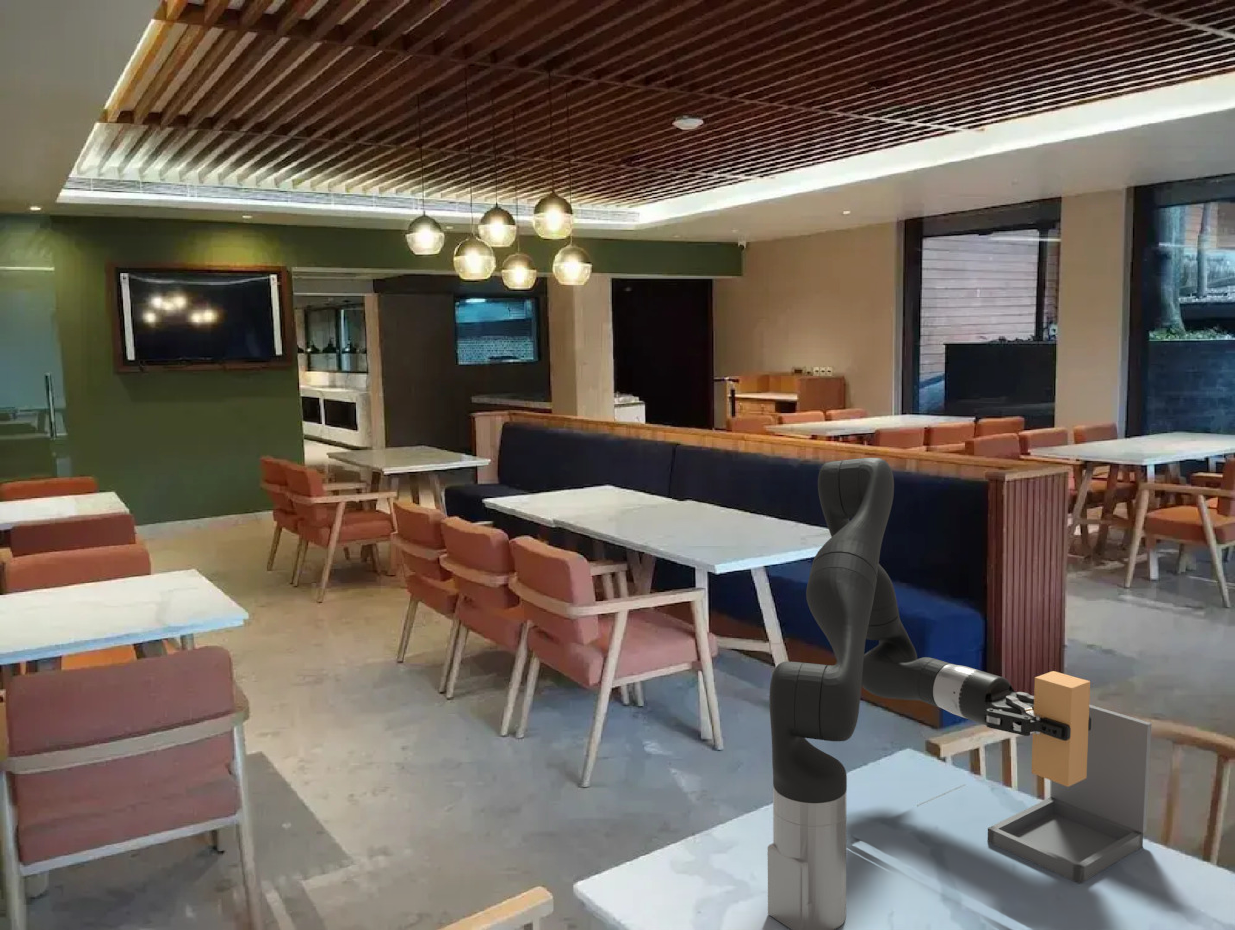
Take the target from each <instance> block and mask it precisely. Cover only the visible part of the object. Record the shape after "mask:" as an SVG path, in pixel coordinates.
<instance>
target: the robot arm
mask: <svg viewBox="0 0 1235 930" xmlns="http://www.w3.org/2000/svg"><path fill="white" fill-rule="evenodd" d="M817 489H818V496H819V503H820V506H821V509H822V514H823V516H824V520H825V522H826V525H827V528H828V530H829V534H830V536H831V538H829V539H828V540H827V541H826V542H825V543H824V544H823V545H822V546H821V547H820V549H819V550H818V551H817V553H816V554H815V556H814V558H813V561H812V564H811V568H810V572H809V576H808V581H807V586H806V591H805V595H806V596H805V597H806V602H807V605H808V607H809V610H810V612H811V615H812V617H813V618H814V620H815V621H816V623H817V625H818V626H819V628H820V629H821V631H822V632H823V634H824V635H825V637H826V638H827V641H828V642H829V644H830V646H831V648H832V650H833V651H832V652H833V653H834V656H835V658H836V663H835V664H834V665H833V664H832V665H830V664H829V665H828V664H819V663H809V662H808V663H807V662H798V661H782V662H780V663H778V664H777V666H775V668H774V670H773V672H772V675H771V679H770V685H769V700H768V701H769V718H770V733H771V749H772V750H771V751H772V752H771V755H772V756H771V757H772V758H771V759H772V760H771V761H772V762H771V763H772V764H771V765H772V785H773V786H772V787H773V788H772V799H773V801H772V808H773V809H772V815H773V816H772V819H773V820H772V821H773V822H772V823H773V824H772V827H773V828H772V829H773V830H772V831H773V834H772V836H773V837H772V838H773V839H772V841H773V842H772V843H770V844H768V846H767V914H768V915H769V916H771V917H772V918H773V919H775V920H777V921H778V922H779V923H781V924H783V926H786V927H787V928H789V929H790V930H836V929H838V928H840V927H841V926H842V925H843V924H844V922H845V921H846V917H847V799H848V798H847V790H848V789H847V788H848V787H847V786H848V785H847V782H848V781H847V780H848V777H847V776H848V775H847V772H846V768H845V766H844V765H843V764H842V762H840V760H838V759H837V758H835V757H834V756H832V755H830V754H828V753H826V752H825V751H822V750H821V749H819V748H818V747H816V746H814V745H813V744H812V743H811V742H809V741H808V740H807V739H812V740H819V741H825V742H845V741H847V740H849V739H850V738H852V736H853V734H854V732H855V731H856V728H857V724H858V718H859V713H860V704H861V695H862V688H863V689H864V690H866V691H867V692H868V693H870V694H872V695H874V696H877V697H879V698H884V699H885V698H886V699H892V700H893V699H894V700H906V701H921V702H922V703H926V704H928V705H931V706H934V707H937V708H940V709H943V710H945V711H947V712H948V713H950V714H953V715H956V716H957V717H961V718H963V719H967V720H969V721H972V722H974V723H978V724H981V725H984V726H986V728H988V729H994V730H996V731H997V730H999V731H1002V732H1006V733H1011V734H1014V735H1021V736H1024V737H1029V736H1031V733H1032V734H1033V733H1034V734H1042V733H1043V734H1046V735H1049V736H1052V737H1055V738H1058V739H1061V740H1064V741H1066V740H1069V739H1070V733H1071V728H1070V726H1069V725H1068V724H1065V723H1062V722H1059V721H1056V720H1053V719H1050V718H1047V717H1044V718H1043V716H1041V715H1039V714H1037V713H1034V695H1031V694H1029V693H1028V692H1023V691H1017V692H1016V691H1015V690H1014V688H1013V687H1012V684H1011V683H1010V681H1009V680H1008V679H1007V678H1005V677H1003V676H999V675H996V674H992V673H989V672H986V671H983V670H979V669H975V668H972V667H969V666H965V665H958V664H954V663H950V662H948V661H947V662H946V661H944V660H941V659H940V660H939V659H937V658H932V657H927V656H926V657H925V656H924V657H921V658H918V654H917V652H916V649H915V646H914V645H913V643H912V641H911V639H910V637H909V634H908V632H907V631H906V629H905V627H904V625H903V623H902V621H901V617H900V613H899V606H898V602H897V596H896V595H897V594H896V591H895V588H894V585H893V584H894V583H893V582H892V579H891V578H890V576H889V574H888V573H887V571H886V570H885V569H884V568H883V567H882V566H881V564H880V563H879V562H880V557H881V556H880V555H881V549H882V543H883V539H884V534H885V531H886V529H887V528H886V527H887V525H888V521H889V517H890V514H891V510H892V506H893V500H894V495H895V494H894V492H895V480H894V473H893V471H892V468H891V466H890V464H889V463H888V462H887V461H886V460H885V459H882V458H880V457H864V458H863V457H862V458H855V459H854V458H853V459H846V460H845V459H844V460H836V461H831V462H830V461H829V462H825V463H824V464H823V465H822V466H821V468H820V469H819V472H818V475H817ZM850 519H851V520H850ZM866 640H869V641H878V645H876V646H875V647H873V648H872V649H870V650H868V651H867V652H866V653H865V648H866ZM1042 718H1043V719H1042ZM1090 730H1091V717H1090V716H1089V721H1088V731H1090Z"/></svg>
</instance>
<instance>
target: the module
mask: <svg viewBox="0 0 1235 930" xmlns="http://www.w3.org/2000/svg"><path fill="white" fill-rule="evenodd" d="M1033 688H1034V690H1033V691H1034V692H1033V694H1034V695H1033V696H1034V713H1037V714H1039V715H1041V716H1043V718H1044V717H1047V718H1050V719H1053V720H1056V721H1059V722H1062V723H1065V724H1068V725H1069V726H1070V728H1071V733H1070V739H1069V740H1066V741H1064V740H1061V739H1058V738H1055V737H1052V736H1049V735H1046V734H1043V733H1042V734H1034V733H1032V751H1031V774H1033V775H1035V776H1039V777H1041V778H1044V779H1045V780H1049V781H1051V782H1052V781H1054V782H1057V783H1059V784H1062V785H1065V786H1067V787H1069V786H1071V785H1073V784H1075V783H1077V782H1079V781H1081V780H1084V779H1086V775H1087V751H1088V721H1089V705H1090V698H1091V680H1087V679H1083V678H1079V677H1077V676H1076V677H1075V676H1072V675H1069V674H1066V673H1061V672H1059V671H1055V670H1053V671H1049V672H1046V673H1044V674H1040V675H1038V676H1035V677H1034V687H1033ZM1043 718H1042V719H1043Z"/></svg>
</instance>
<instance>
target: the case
mask: <svg viewBox="0 0 1235 930" xmlns="http://www.w3.org/2000/svg"><path fill="white" fill-rule="evenodd" d="M1089 716H1090V717H1091V730H1090V731H1088V751H1087V775H1086V779H1084V780H1081V781H1079V782H1077V783H1075V784H1073V785H1071V786H1069V787H1067V786H1065V785H1062V784H1059V783H1057V782H1054V781H1051V794H1050V795H1051V796H1050V797H1048V798H1046V799H1044V800H1042V801H1040V802H1039V803H1036V804H1034V805H1033V806H1032V805H1031V806H1030V807H1028V808H1025V809H1024V810H1022V811H1020V812H1018V813H1016V814H1014V815H1012V816H1009V817H1008V818H1006V819H1004V820H1001V821H1000V822H998V823H995V824H994V825H991V826H989V827H988V828H987V843H990V844H992V845H994V846H996V847H998V848H1001V849H1003V850H1005V851H1007V852H1009V853H1011V854H1014V855H1016V856H1018V857H1021V858H1022V859H1025V860H1027V861H1030V862H1031V863H1034V864H1035V865H1038V866H1040V867H1042V868H1043V869H1044V868H1045V869H1046V870H1049V871H1051V872H1053V873H1055V874H1058V875H1060V876H1062V877H1064V878H1066V879H1069V880H1071V881H1073V882H1075V883H1077V884H1083V882H1085V881H1086V880H1088V879H1091V878H1092V877H1093V876H1095V875H1097V874H1099V873H1101V872H1102V871H1104V870H1106V869H1107V868H1109V867H1110V866H1112V865H1113V864H1116V863H1117V862H1118V861H1121V860H1122V859H1124V858H1126V857H1128V856H1129V855H1131V854H1133V853H1134V852H1136V851H1137V850H1139V849H1141V848H1142V847H1144V833H1146V832H1147V831H1148V830H1147V829H1148V810H1149V809H1148V808H1149V807H1148V806H1149V805H1148V804H1149V786H1150V785H1149V784H1150V783H1149V782H1150V768H1151V767H1150V766H1151V765H1150V763H1151V742H1152V741H1151V740H1152V723H1153V722H1149V721H1146V720H1142V719H1140V718H1136V717H1132V716H1129V715H1126V714H1122V713H1119V712H1116V711H1112V710H1109V709H1105V708H1102V707H1098V706H1097V705H1096V706H1095V705H1093V704H1089Z"/></svg>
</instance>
